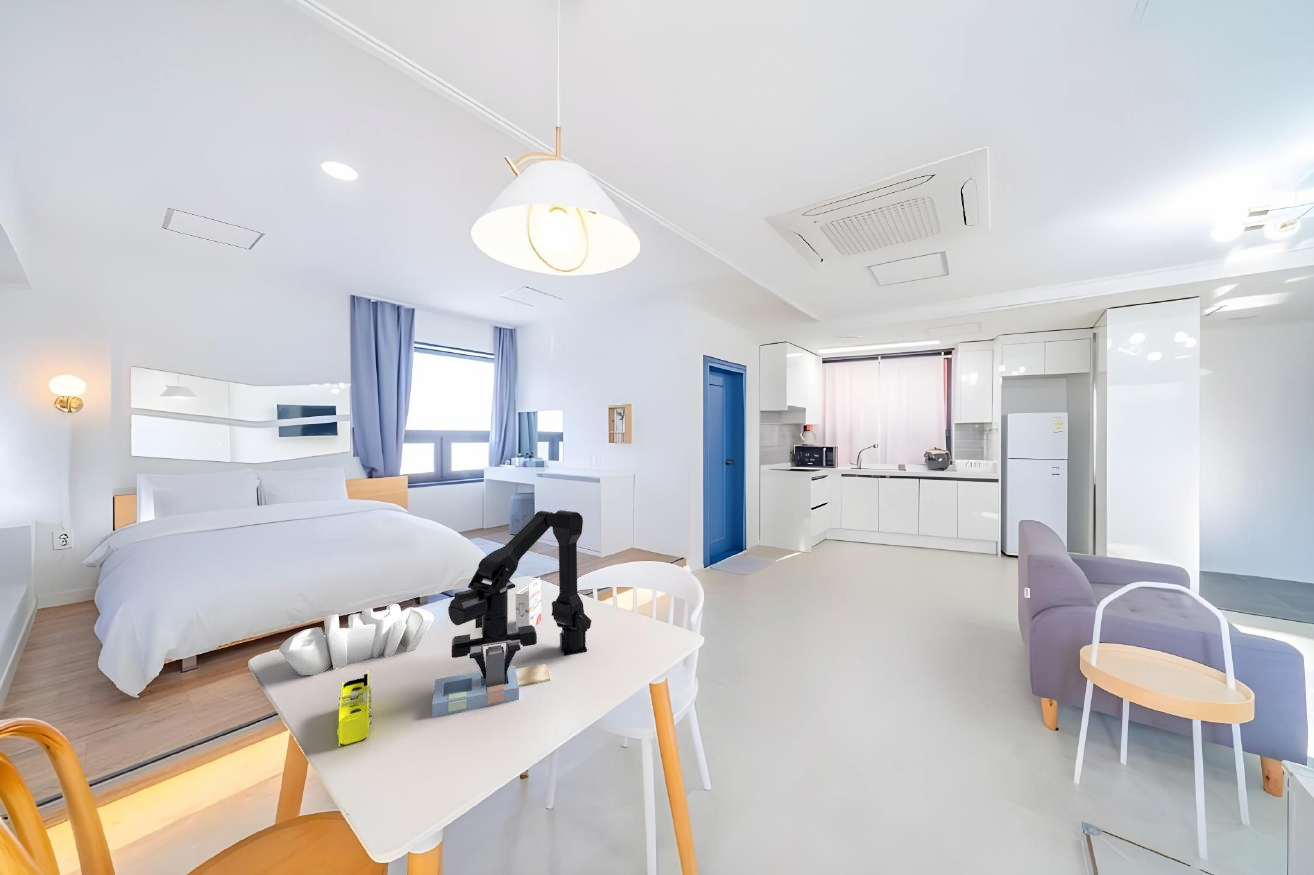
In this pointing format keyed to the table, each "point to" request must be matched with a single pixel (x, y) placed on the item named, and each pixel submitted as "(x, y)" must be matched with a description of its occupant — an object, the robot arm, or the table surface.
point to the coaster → (532, 675)
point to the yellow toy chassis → (354, 710)
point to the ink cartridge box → (528, 605)
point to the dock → (472, 692)
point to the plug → (494, 666)
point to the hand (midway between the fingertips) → (494, 676)
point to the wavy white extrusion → (356, 638)
